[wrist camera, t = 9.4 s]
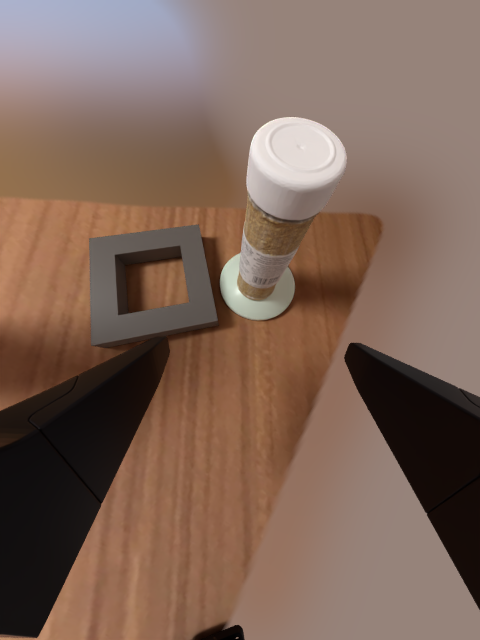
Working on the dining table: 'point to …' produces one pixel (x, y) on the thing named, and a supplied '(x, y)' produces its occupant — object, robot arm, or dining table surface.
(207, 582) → the dining table surface
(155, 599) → the dining table surface
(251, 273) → the sprinkles bottle
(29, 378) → the dining table surface
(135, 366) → the robot arm
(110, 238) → the holder
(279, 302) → the coaster
